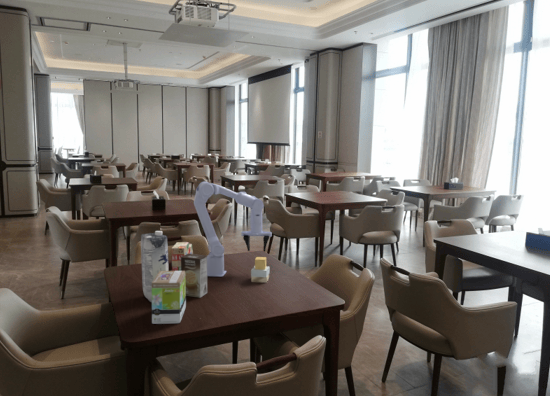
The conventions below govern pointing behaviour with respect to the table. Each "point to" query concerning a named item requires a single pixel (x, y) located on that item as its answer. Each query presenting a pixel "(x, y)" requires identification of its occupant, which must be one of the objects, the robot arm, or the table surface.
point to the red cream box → (180, 254)
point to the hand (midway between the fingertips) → (256, 250)
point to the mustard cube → (260, 263)
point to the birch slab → (260, 279)
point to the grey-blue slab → (260, 272)
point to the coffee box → (195, 274)
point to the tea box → (168, 297)
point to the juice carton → (153, 259)
